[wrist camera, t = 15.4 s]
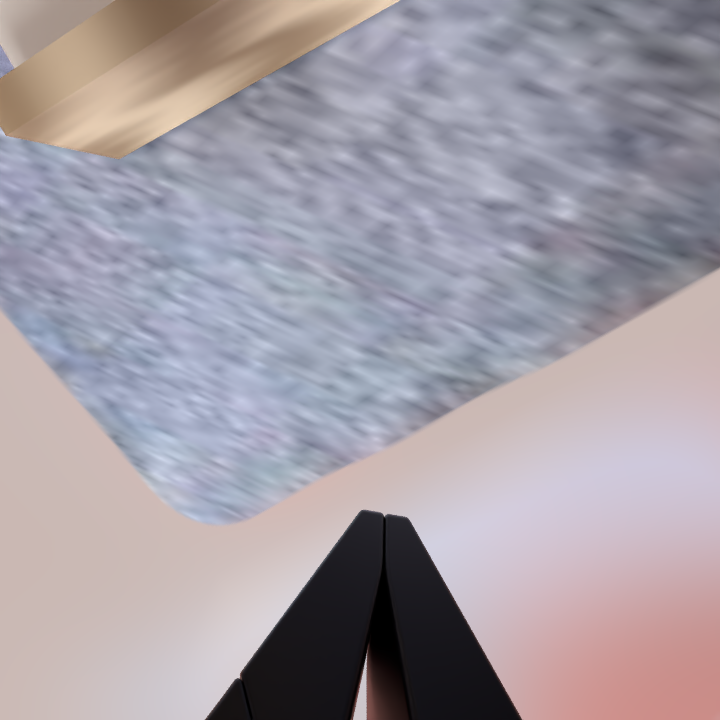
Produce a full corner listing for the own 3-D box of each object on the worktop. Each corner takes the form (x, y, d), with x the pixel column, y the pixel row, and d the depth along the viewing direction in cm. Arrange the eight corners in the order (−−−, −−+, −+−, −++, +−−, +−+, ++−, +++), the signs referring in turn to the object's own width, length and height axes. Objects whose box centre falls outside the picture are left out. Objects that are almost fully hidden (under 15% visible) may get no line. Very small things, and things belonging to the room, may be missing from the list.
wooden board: (404, -51, 13) (406, -198, 9) (417, -10, 14) (425, -130, 9) (103, 129, 16) (-21, 92, 11) (119, 159, 16) (6, 135, 12)
